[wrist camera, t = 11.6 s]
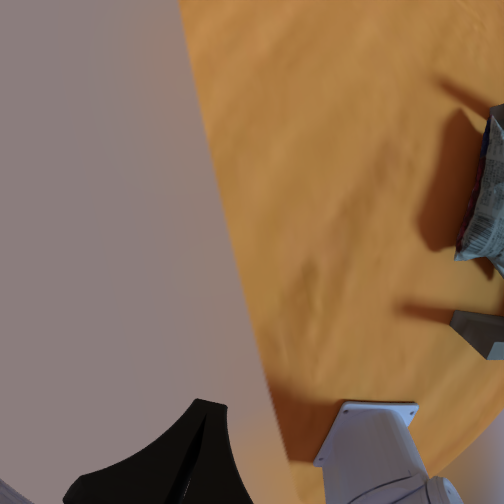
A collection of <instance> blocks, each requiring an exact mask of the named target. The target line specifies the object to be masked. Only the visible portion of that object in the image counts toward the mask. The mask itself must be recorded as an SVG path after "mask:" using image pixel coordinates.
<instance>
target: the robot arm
mask: <svg viewBox="0 0 504 504" xmlns="http://www.w3.org/2000/svg"><path fill="white" fill-rule="evenodd" d="M227 408H228V407H227V406H226V405H224V404H219V403H215V402H210V401H206V400H202V399H198V398H197V399H195V400H194V401H193V402H192V404H191V405H190V407H189V408H188V409H187V410H186V411H185V413H184V414H183V415H182V416H181V417H180V418H179V419H178V420H177V421H176V422H175V423H174V424H173V425H172V426H171V427H170V428H169V429H168V430H167V431H166V432H165V433H164V434H162V435H161V436H160V437H159V438H157V439H156V440H155V441H154V442H152V443H151V444H149V445H148V446H147V447H145V448H144V449H142V450H141V451H139V452H137V453H136V454H134V455H132V456H131V457H129V458H127V459H125V460H123V461H121V462H119V463H116V464H114V465H112V466H109V467H107V468H104V469H102V470H99V471H95V472H92V473H89V474H85V475H82V476H80V477H79V478H78V479H77V480H76V481H75V482H74V483H73V484H72V485H71V486H70V488H69V490H68V491H67V493H66V494H65V496H64V498H63V503H64V504H253V502H252V500H251V498H250V496H249V494H248V493H247V490H246V489H245V487H244V484H243V482H242V480H241V478H240V475H239V472H238V470H237V467H236V464H235V461H234V458H233V454H232V450H231V446H230V441H229V436H228V429H227ZM418 409H419V405H418V404H417V403H371V402H352V401H347V402H345V403H343V405H342V406H341V409H340V411H339V413H338V415H337V417H336V419H335V421H334V423H333V425H332V427H331V429H330V431H329V433H328V435H327V437H326V439H325V441H324V443H323V445H322V447H321V449H320V451H319V452H318V454H317V456H316V458H315V460H314V461H313V465H314V466H315V467H322V470H323V479H324V488H325V498H326V504H463V502H462V500H461V498H460V496H459V494H458V492H457V491H456V489H455V488H454V486H453V485H452V484H451V482H450V481H449V480H448V479H446V478H444V477H438V476H434V477H432V478H431V479H429V476H428V474H427V471H426V469H425V467H424V464H423V462H422V460H421V457H420V455H419V453H418V450H417V448H416V446H415V444H414V441H413V439H412V437H411V435H410V433H409V430H408V428H407V427H408V425H409V424H410V422H411V421H412V419H413V417H414V416H415V414H416V412H417V411H418ZM345 410H347V411H345ZM190 479H191V480H190ZM188 484H189V485H188ZM187 486H188V488H187ZM186 489H187V490H186ZM185 492H186V493H185ZM184 495H185V496H184ZM0 504H34V503H32V502H31V501H29V500H28V499H27V498H25V497H24V496H22V495H21V494H19V493H18V492H17V491H15V490H14V489H13V488H11V487H10V486H9V485H8V484H6V483H5V482H4V481H2V480H1V479H0Z"/></svg>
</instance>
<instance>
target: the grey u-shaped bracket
mask: <svg viewBox="0 0 504 504" xmlns="http://www.w3.org/2000/svg"><path fill="white" fill-rule="evenodd" d="M490 115H493V116H494V118H495V119H496V121H497V122H498V124H499V125H500V127H501V128H502V129H503V130H504V104H501V105H497V106H494V107H491V108H490ZM450 326H451V327H452V328H453V329H454V330H455V331H456V332H457V333H458V334H460V335H461V336H462V337H463V338H464V339H465V340H466V341H467V342H468V343H469V344H470V345H471V346H472V347H473V348H475V349H476V350H477V351H478V352H479V353H480V354H481V355H482V356H483V357H484V358H485V359H486V360H504V317H501V316H494V315H487V314H479V313H472V312H466V311H459V310H455V312H454V314H453V317H452V320H451V323H450Z"/></svg>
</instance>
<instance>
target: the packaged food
mask: <svg viewBox="0 0 504 504" xmlns="http://www.w3.org/2000/svg"><path fill="white" fill-rule="evenodd" d="M484 256H486V257H487V258H488V259H489V260H490V261H491V262H492V264H493V265H494V266H495V268H496V269H497V270H498V272H499V273H500V274H501V276H502V277H503V279H504V130H503V129H502V128H501V127H500V125H499V124H498V122H497V121H496V119H495V118H494V116H493V115H490V117H489V118H488V120H487V124H486V128H485V132H484V135H483V140H482V145H481V152H480V159H479V165H478V170H477V176H476V184H475V186H474V189H473V191H472V194H471V198H470V201H469V204H468V208H467V212H466V215H465V216H464V219H463V223H462V226H461V229H460V231H459V234H458V236H457V241H456V251H455V255H454V261H462V260H465V261H466V260H468V259H473V258H476V257H484Z"/></svg>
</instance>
